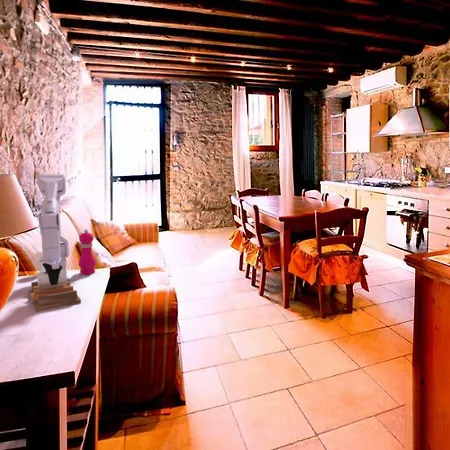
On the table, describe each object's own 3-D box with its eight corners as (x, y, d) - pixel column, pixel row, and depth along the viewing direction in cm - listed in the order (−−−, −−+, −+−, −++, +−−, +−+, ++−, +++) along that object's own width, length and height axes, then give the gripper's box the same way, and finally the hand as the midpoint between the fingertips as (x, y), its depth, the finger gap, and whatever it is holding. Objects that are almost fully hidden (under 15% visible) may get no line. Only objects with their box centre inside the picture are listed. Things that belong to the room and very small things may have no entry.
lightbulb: (32, 274, 153) (30, 250, 151) (44, 271, 158) (43, 247, 156) (40, 276, 150) (39, 251, 148) (53, 273, 155) (52, 249, 154)
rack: (28, 292, 131) (28, 282, 130) (68, 286, 139) (68, 276, 138) (36, 311, 115) (35, 299, 114) (80, 302, 123) (80, 291, 122)
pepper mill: (79, 271, 159) (77, 228, 156) (96, 269, 162) (94, 227, 159) (78, 275, 153) (76, 230, 149) (96, 274, 155) (94, 230, 152)
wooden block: (65, 289, 130) (64, 269, 129) (67, 292, 128) (66, 271, 126) (38, 294, 125) (36, 273, 124) (39, 297, 123) (38, 275, 121)
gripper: (35, 243, 127) (37, 279, 130) (41, 252, 116) (44, 291, 118) (56, 242, 131) (58, 276, 134) (64, 249, 120) (66, 287, 122)
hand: (53, 283), depth 126 cm, fingers closed on wooden block, 3 cm apart
